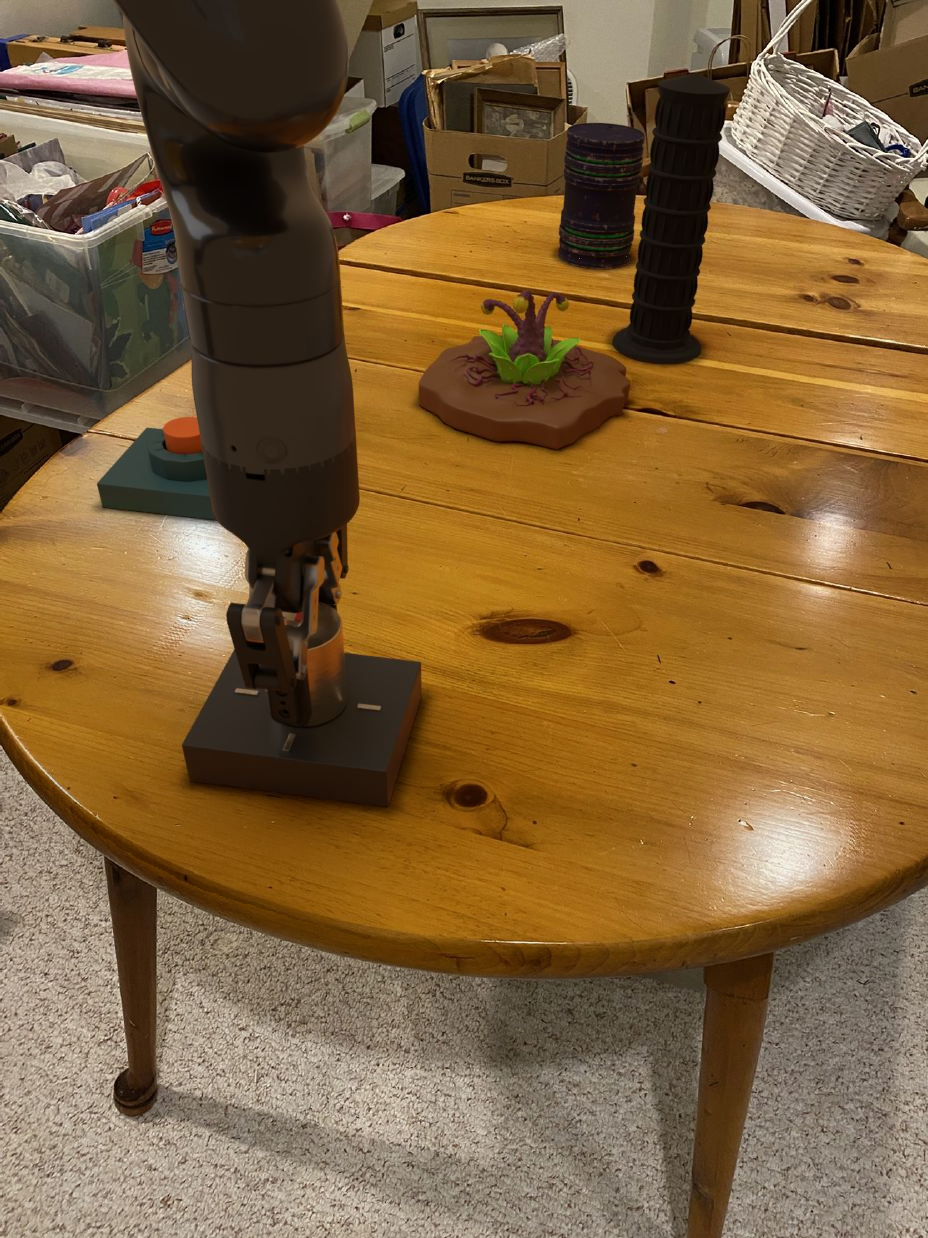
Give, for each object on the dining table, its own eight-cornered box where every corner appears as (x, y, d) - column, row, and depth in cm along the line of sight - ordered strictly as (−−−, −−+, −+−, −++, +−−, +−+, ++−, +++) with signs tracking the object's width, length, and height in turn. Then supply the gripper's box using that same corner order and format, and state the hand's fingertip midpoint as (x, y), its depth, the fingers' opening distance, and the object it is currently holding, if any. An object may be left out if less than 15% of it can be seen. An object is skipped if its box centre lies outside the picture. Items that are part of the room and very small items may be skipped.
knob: (338, 731, 60) (331, 650, 56) (257, 723, 60) (245, 641, 56) (355, 678, 64) (349, 599, 60) (279, 671, 64) (268, 591, 60)
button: (159, 454, 83) (155, 434, 82) (176, 433, 85) (173, 414, 84) (202, 458, 82) (199, 439, 81) (218, 438, 85) (215, 418, 84)
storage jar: (624, 273, 131) (639, 145, 122) (550, 263, 133) (559, 136, 123) (636, 249, 139) (650, 127, 129) (565, 240, 140) (574, 119, 130)
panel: (189, 781, 61) (180, 742, 58) (244, 674, 68) (238, 637, 66) (388, 807, 60) (386, 769, 58) (421, 696, 67) (421, 659, 65)
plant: (385, 413, 98) (381, 295, 91) (476, 344, 112) (479, 237, 104) (578, 464, 92) (590, 343, 85) (649, 385, 106) (665, 275, 99)
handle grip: (616, 361, 110) (708, 365, 110) (649, 81, 93) (758, 87, 93) (608, 326, 118) (694, 329, 118) (638, 60, 100) (738, 66, 101)
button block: (102, 507, 83) (91, 462, 80) (151, 449, 90) (142, 407, 88) (245, 523, 82) (239, 479, 79) (283, 464, 90) (278, 422, 87)
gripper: (252, 360, 56) (283, 609, 67) (145, 490, 45) (203, 762, 56) (386, 374, 55) (395, 622, 66) (311, 509, 44) (337, 779, 55)
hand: (307, 685), depth 61 cm, fingers open, 5 cm apart
